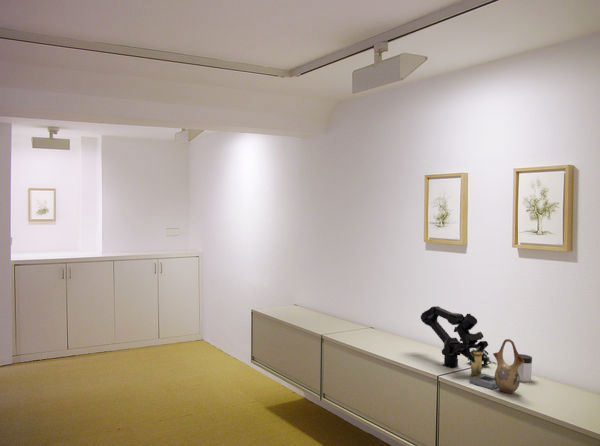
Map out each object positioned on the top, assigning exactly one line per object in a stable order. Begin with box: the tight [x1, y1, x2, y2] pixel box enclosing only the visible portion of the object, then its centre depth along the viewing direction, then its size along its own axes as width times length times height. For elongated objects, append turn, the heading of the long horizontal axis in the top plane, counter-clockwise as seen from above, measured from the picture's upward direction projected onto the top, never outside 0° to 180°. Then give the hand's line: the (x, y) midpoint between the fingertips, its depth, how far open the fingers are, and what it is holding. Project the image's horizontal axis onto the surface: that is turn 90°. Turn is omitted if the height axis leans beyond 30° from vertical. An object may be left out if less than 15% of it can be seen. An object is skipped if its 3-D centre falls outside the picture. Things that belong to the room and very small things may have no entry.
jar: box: [518, 353, 533, 383], centre depth 269 cm, size 9×8×12 cm
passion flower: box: [467, 348, 492, 366], centre depth 293 cm, size 11×11×12 cm
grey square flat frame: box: [469, 373, 499, 390], centre depth 260 cm, size 12×12×2 cm
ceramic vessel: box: [492, 338, 524, 394], centre depth 249 cm, size 16×9×25 cm, turn 32°
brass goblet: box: [470, 349, 483, 378], centre depth 271 cm, size 6×6×13 cm
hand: (478, 361), depth 269 cm, fingers open, 6 cm apart
